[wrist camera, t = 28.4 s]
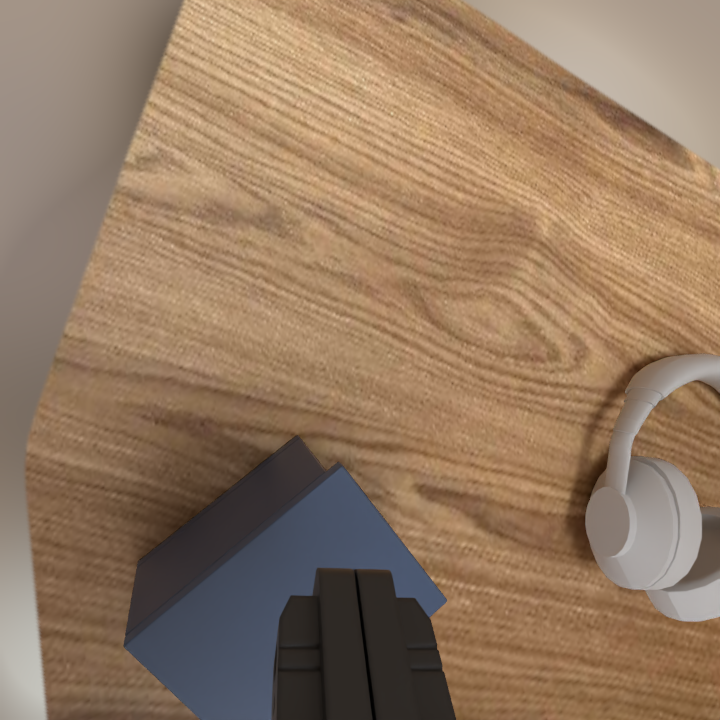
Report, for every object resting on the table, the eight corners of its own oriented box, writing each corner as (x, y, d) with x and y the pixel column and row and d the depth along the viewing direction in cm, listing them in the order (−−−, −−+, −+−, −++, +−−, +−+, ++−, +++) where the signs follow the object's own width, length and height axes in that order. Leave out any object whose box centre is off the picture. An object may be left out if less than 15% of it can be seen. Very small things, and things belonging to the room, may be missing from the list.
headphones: (671, 625, 48) (756, 423, 52) (766, 673, 41) (856, 435, 45) (524, 532, 42) (631, 313, 46) (604, 569, 35) (723, 305, 39)
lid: (338, 460, 30) (342, 465, 29) (441, 593, 33) (448, 601, 32) (124, 636, 28) (122, 646, 27) (255, 761, 30) (257, 774, 30)
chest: (297, 434, 37) (325, 471, 30) (384, 545, 40) (430, 604, 33) (137, 561, 35) (124, 635, 28) (241, 668, 38) (255, 761, 31)
